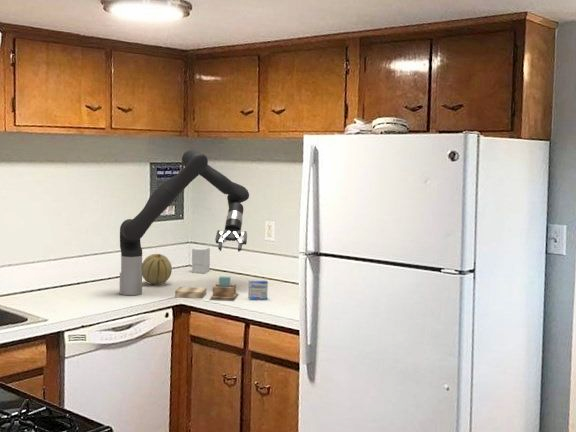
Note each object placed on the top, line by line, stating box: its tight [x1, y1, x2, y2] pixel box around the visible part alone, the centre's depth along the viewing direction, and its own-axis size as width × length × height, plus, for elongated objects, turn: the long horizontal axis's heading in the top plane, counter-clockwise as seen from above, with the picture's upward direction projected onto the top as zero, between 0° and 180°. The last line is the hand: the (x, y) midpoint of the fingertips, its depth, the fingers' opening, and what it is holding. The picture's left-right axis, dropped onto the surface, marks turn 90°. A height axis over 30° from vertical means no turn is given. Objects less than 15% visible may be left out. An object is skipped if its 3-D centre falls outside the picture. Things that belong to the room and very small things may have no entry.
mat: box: [208, 293, 240, 302], centre depth 337 cm, size 11×16×1 cm
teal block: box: [218, 275, 231, 287], centre depth 337 cm, size 4×3×8 cm, turn 86°
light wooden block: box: [174, 286, 208, 299], centre depth 338 cm, size 12×10×3 cm
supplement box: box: [191, 246, 211, 274], centre depth 400 cm, size 7×7×13 cm
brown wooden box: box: [210, 283, 239, 300], centre depth 337 cm, size 10×12×5 cm
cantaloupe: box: [142, 253, 173, 286], centre depth 363 cm, size 15×15×15 cm
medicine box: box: [248, 279, 269, 301], centre depth 335 cm, size 8×4×9 cm, turn 101°
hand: (229, 250), depth 347 cm, fingers open, 8 cm apart
